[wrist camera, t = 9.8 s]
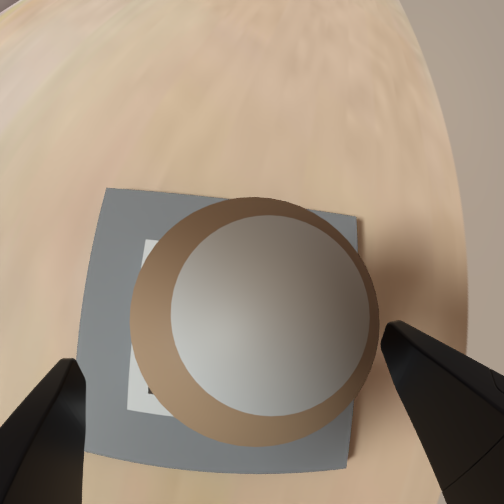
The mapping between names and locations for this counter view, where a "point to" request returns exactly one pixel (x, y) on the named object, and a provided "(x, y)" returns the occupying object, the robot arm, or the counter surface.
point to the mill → (254, 322)
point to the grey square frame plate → (127, 370)
